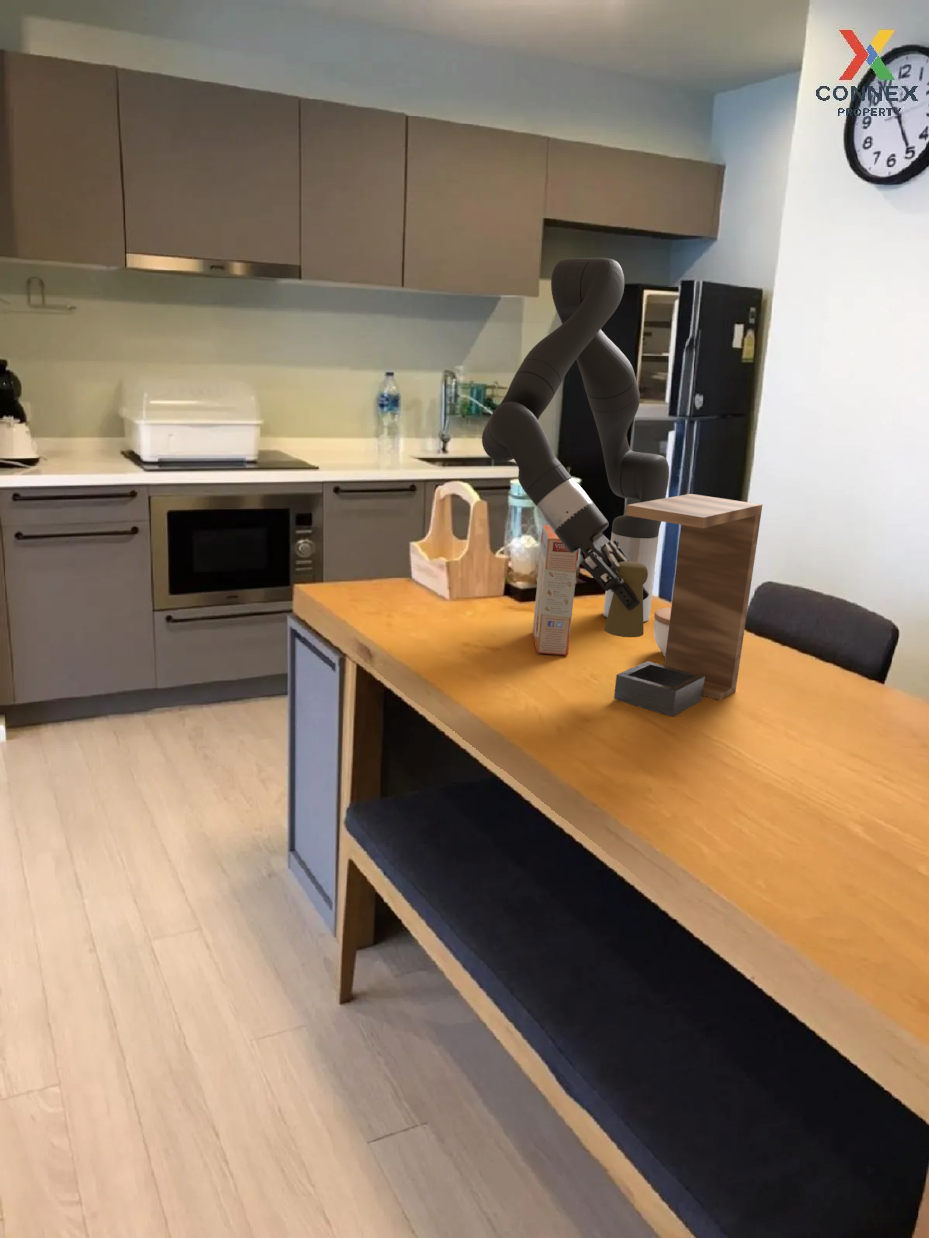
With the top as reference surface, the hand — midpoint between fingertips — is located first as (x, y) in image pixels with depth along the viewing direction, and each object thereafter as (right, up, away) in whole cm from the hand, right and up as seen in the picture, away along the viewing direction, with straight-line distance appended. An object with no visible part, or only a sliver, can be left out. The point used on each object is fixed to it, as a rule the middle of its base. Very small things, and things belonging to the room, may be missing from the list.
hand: (639, 602), depth 149 cm
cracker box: (-11, -7, +28) cm, 31 cm away
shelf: (+6, -15, +4) cm, 16 cm away
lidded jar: (+12, -9, +25) cm, 30 cm away
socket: (+3, -15, +2) cm, 16 cm away
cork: (-2, -5, +2) cm, 5 cm away
